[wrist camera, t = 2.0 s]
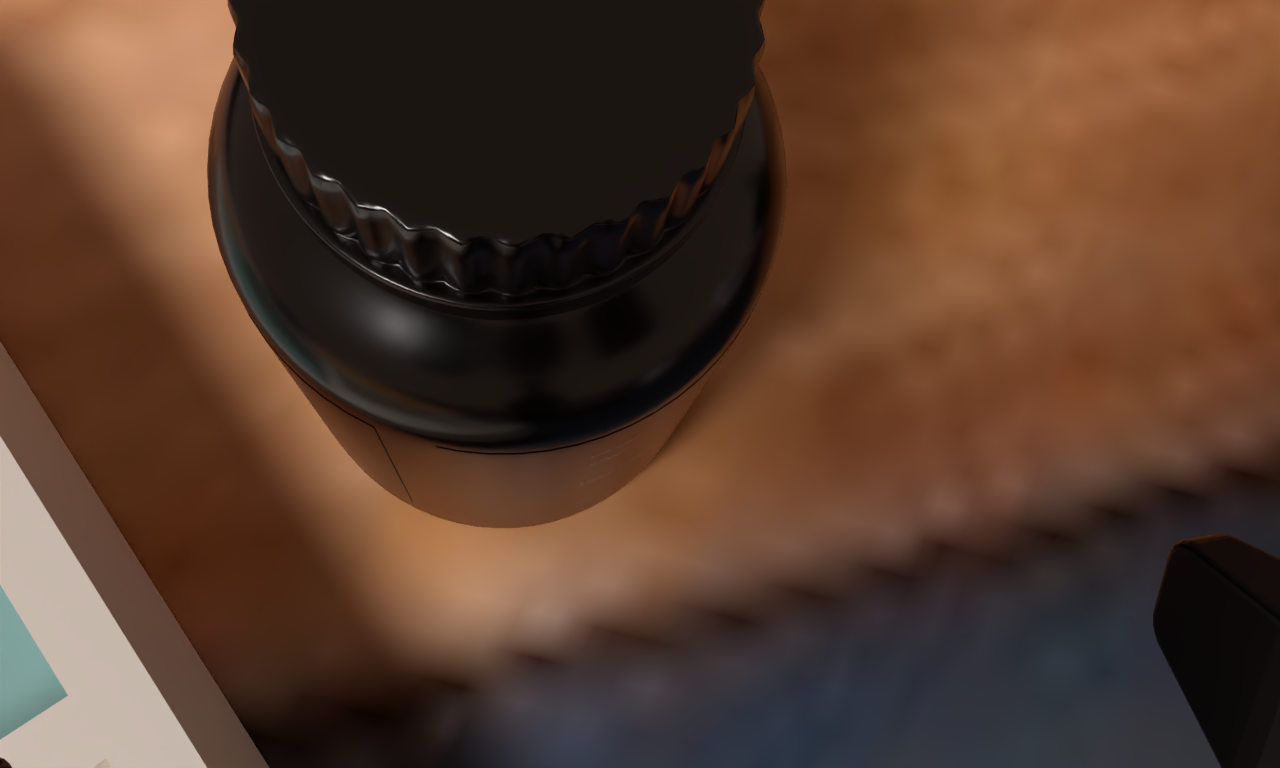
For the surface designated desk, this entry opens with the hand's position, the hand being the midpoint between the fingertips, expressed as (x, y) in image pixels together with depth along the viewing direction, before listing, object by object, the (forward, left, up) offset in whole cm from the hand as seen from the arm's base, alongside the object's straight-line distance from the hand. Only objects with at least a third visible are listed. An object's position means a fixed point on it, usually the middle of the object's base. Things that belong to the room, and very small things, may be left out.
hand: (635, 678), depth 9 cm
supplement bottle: (+2, -5, -12) cm, 14 cm away
